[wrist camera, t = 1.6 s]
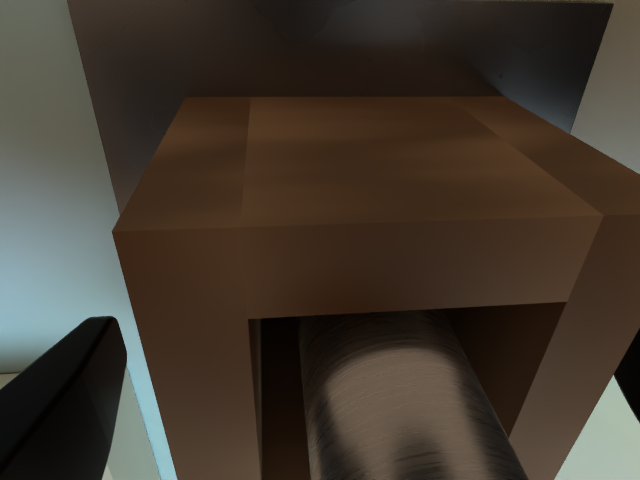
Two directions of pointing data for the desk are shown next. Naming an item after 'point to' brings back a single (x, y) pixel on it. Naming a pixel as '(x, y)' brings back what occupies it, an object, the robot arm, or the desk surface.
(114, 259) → the desk surface
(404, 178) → the wooden shaft bracket
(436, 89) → the grey post on plate
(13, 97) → the desk surface
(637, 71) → the desk surface
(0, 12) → the desk surface
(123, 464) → the tray
